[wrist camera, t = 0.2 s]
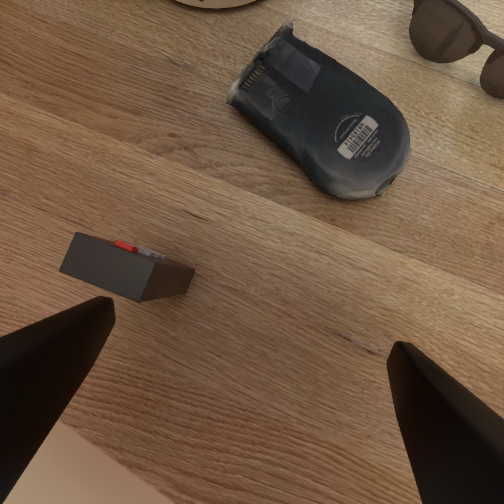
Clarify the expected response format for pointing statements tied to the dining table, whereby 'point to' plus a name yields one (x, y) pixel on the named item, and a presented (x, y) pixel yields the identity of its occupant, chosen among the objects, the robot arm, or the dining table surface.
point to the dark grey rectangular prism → (125, 268)
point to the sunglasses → (456, 39)
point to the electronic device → (323, 117)
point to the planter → (215, 3)
